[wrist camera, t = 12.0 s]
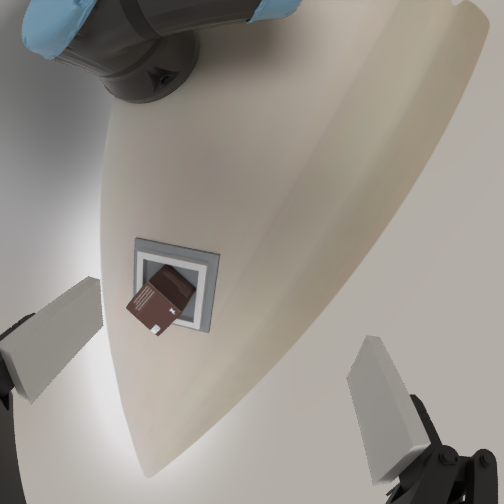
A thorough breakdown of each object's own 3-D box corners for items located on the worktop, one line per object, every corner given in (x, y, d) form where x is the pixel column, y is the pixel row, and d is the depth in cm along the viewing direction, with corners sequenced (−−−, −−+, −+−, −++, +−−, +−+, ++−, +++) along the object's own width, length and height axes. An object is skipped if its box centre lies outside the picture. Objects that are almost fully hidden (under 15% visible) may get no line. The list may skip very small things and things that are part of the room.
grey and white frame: (136, 237, 40) (130, 241, 38) (219, 254, 40) (217, 259, 38) (135, 311, 44) (130, 317, 42) (209, 330, 44) (206, 338, 42)
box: (167, 260, 40) (147, 279, 33) (197, 288, 41) (183, 312, 34) (145, 286, 42) (124, 307, 35) (174, 312, 42) (157, 337, 35)
